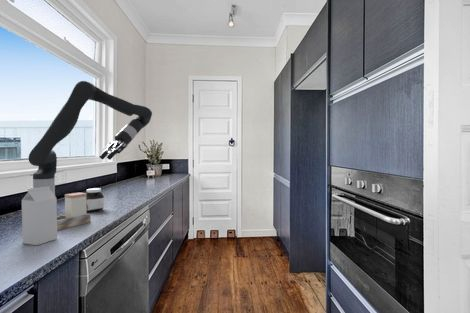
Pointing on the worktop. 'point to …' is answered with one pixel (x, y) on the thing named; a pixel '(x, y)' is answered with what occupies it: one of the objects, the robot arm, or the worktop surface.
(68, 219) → the track
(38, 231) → the milk carton
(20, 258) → the worktop surface
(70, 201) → the pink-topped white box
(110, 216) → the worktop surface
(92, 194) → the spread jar
